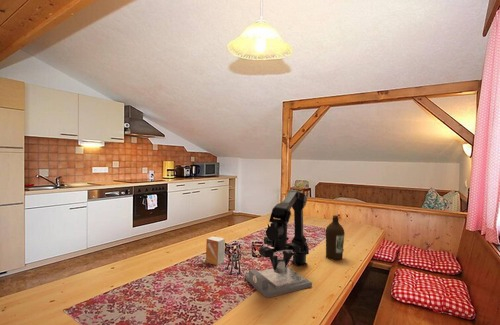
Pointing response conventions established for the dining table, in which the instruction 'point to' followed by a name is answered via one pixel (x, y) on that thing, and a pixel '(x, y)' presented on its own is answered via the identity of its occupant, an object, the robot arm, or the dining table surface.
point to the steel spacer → (280, 266)
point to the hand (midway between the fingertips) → (279, 268)
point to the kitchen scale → (276, 281)
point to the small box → (215, 250)
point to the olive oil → (334, 240)
